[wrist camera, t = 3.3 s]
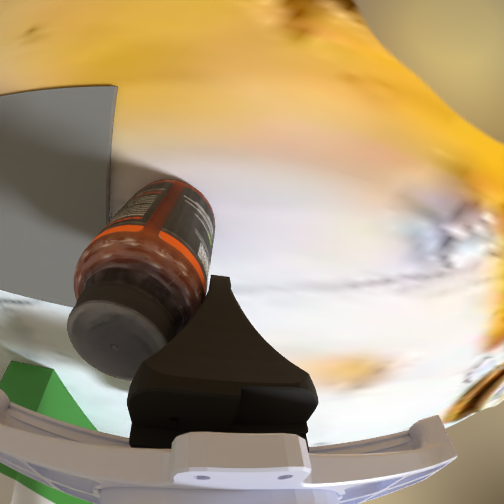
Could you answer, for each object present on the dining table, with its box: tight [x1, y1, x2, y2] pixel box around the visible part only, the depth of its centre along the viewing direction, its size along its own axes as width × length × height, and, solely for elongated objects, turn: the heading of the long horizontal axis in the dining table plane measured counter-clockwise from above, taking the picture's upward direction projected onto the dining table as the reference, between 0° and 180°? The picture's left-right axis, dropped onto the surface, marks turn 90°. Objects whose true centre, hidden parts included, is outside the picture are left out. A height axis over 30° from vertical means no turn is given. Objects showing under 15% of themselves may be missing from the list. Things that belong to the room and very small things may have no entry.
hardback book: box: [0, 361, 97, 504], centre depth 19 cm, size 18×7×24 cm, turn 179°
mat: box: [0, 86, 118, 307], centre depth 17 cm, size 17×15×1 cm
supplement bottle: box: [67, 180, 215, 380], centre depth 14 cm, size 6×6×11 cm
